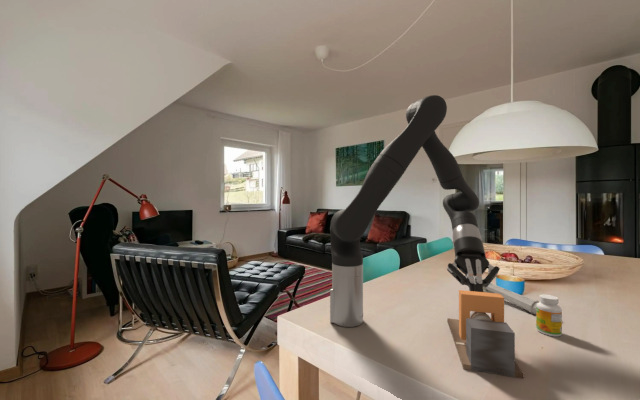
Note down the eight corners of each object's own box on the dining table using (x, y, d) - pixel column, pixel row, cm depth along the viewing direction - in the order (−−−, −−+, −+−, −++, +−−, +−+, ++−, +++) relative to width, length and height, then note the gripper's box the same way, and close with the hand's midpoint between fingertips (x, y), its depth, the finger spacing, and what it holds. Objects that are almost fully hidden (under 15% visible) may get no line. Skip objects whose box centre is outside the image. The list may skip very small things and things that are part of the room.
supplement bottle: (531, 327, 79) (531, 293, 79) (550, 327, 78) (551, 293, 78) (546, 337, 73) (546, 300, 73) (567, 337, 73) (567, 300, 73)
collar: (461, 339, 67) (461, 294, 67) (458, 333, 70) (458, 290, 70) (504, 345, 64) (504, 297, 64) (500, 339, 67) (500, 293, 67)
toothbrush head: (541, 307, 84) (472, 275, 107) (538, 328, 85) (470, 291, 108) (553, 305, 85) (482, 273, 109) (550, 325, 86) (480, 289, 110)
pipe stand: (463, 368, 60) (463, 325, 60) (447, 321, 82) (447, 290, 82) (523, 378, 56) (523, 332, 56) (489, 326, 79) (489, 294, 79)
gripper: (444, 234, 80) (450, 290, 68) (496, 236, 76) (512, 295, 65) (441, 249, 85) (447, 303, 74) (490, 252, 81) (505, 309, 70)
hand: (478, 299), depth 69 cm, fingers closed
